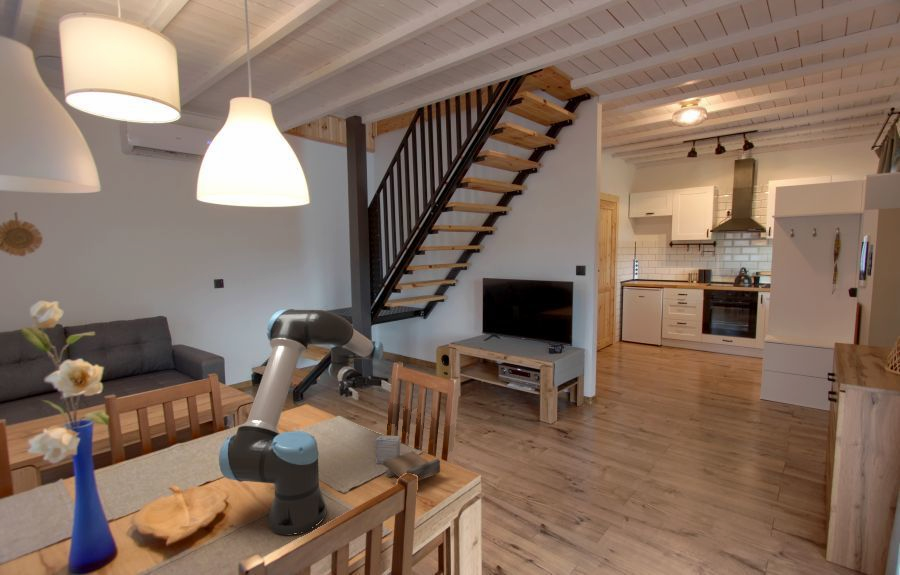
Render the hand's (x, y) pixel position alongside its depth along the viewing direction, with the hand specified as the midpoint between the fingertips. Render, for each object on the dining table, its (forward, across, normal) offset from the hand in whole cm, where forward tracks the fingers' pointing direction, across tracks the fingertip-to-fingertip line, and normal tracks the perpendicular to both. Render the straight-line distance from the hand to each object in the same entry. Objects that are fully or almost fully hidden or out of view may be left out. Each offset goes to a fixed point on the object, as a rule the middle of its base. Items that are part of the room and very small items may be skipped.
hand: (374, 392), depth 156 cm
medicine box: (+10, 0, -23) cm, 25 cm away
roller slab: (+23, -1, -22) cm, 32 cm away
